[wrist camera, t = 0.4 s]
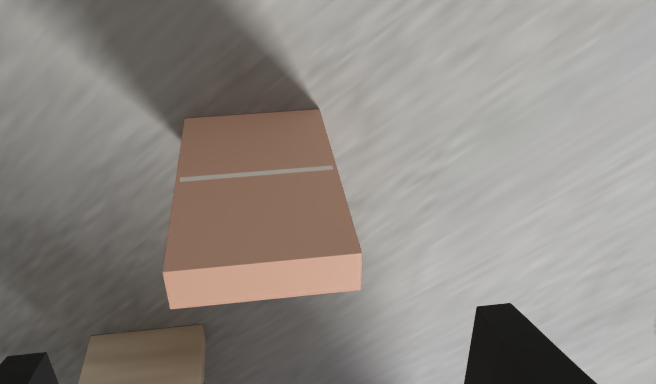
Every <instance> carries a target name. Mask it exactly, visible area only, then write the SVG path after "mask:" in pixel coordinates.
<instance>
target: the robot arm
mask: <svg viewBox="0 0 656 384" xmlns="http://www.w3.org/2000/svg"><path fill="white" fill-rule="evenodd" d="M0 384H58V381H57V378H56V376H55V373H54V370H53V368H52V365H51V363H50V360H49V357H48V355H47V352H44V353H34V354H25V355H16V356H7V357H6V358H5V359H4V361H3V362H2V363H1V364H0ZM464 384H597V383H596V382H594V381H593V380H592V379H591V378H590V377H589V376H588V375H587V374H586V373H584V372H583V371H582V370H581V369H580V368H579V367H578V366H577V365H576V364H575V363H574V362H573V361H571V360H570V359H569V358H568V357H567V356H566V355H565V354H564V353H563V352H562V351H561V350H560V349H559V348H558V347H556V346H555V345H554V344H553V343H552V342H551V341H550V340H549V339H548V338H547V337H546V336H545V335H544V334H543V333H542V332H541V331H540V330H539V329H538V328H536V327H535V326H534V325H533V324H532V323H531V322H530V321H529V320H528V319H527V318H526V317H525V316H524V315H523V314H522V313H521V312H520V311H518V310H517V309H516V308H515V307H514V306H513V305H512V304H511V303H506V304H497V305H487V306H478V307H477V308H476V315H475V321H474V327H473V333H472V339H471V345H470V351H469V357H468V363H467V369H466V375H465V381H464Z"/></svg>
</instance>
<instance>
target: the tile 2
mask: <svg viewBox="0 0 656 384" xmlns="http://www.w3.org/2000/svg"><path fill="white" fill-rule="evenodd" d="M205 358H206V340H205V334H204V328H203V324H201V325H191V326H182V327H172V328H163V329H153V330H144V331H134V332H125V333H115V334H106V335H96V336H91V337H90V340H89V344H88V348H87V352H86V356H85V359H84V363H83V367H82V371H81V375H80V378H79V382H78V384H204V380H205Z"/></svg>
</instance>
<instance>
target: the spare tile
mask: <svg viewBox="0 0 656 384" xmlns="http://www.w3.org/2000/svg"><path fill="white" fill-rule="evenodd" d="M361 270H362V252H361V248H360V245H359V242H358V238H357V235H356V231H355V228H354V225H353V221H352V218H351V214H350V211H349V208H348V204H347V201H346V197H345V194H344V191H343V187H342V184H341V180H340V177H339V174H338V170H337V167H336V163H335V160H334V157H333V153H332V150H331V146H330V143H329V140H328V136H327V133H326V129H325V126H324V123H323V119H322V116H321V112H320V109H314V110H299V111H285V112H270V113H256V114H242V115H227V116H213V117H198V118H185V119H184V126H183V133H182V140H181V147H180V154H179V161H178V168H177V175H176V182H175V189H174V196H173V203H172V210H171V217H170V224H169V230H168V237H167V244H166V251H165V258H164V265H163V277H164V282H165V287H166V292H167V296H168V301H169V306H170V309H180V308H190V307H199V306H209V305H219V304H229V303H238V302H248V301H258V300H268V299H278V298H287V297H297V296H307V295H317V294H326V293H336V292H346V291H356V290H361Z"/></svg>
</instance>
